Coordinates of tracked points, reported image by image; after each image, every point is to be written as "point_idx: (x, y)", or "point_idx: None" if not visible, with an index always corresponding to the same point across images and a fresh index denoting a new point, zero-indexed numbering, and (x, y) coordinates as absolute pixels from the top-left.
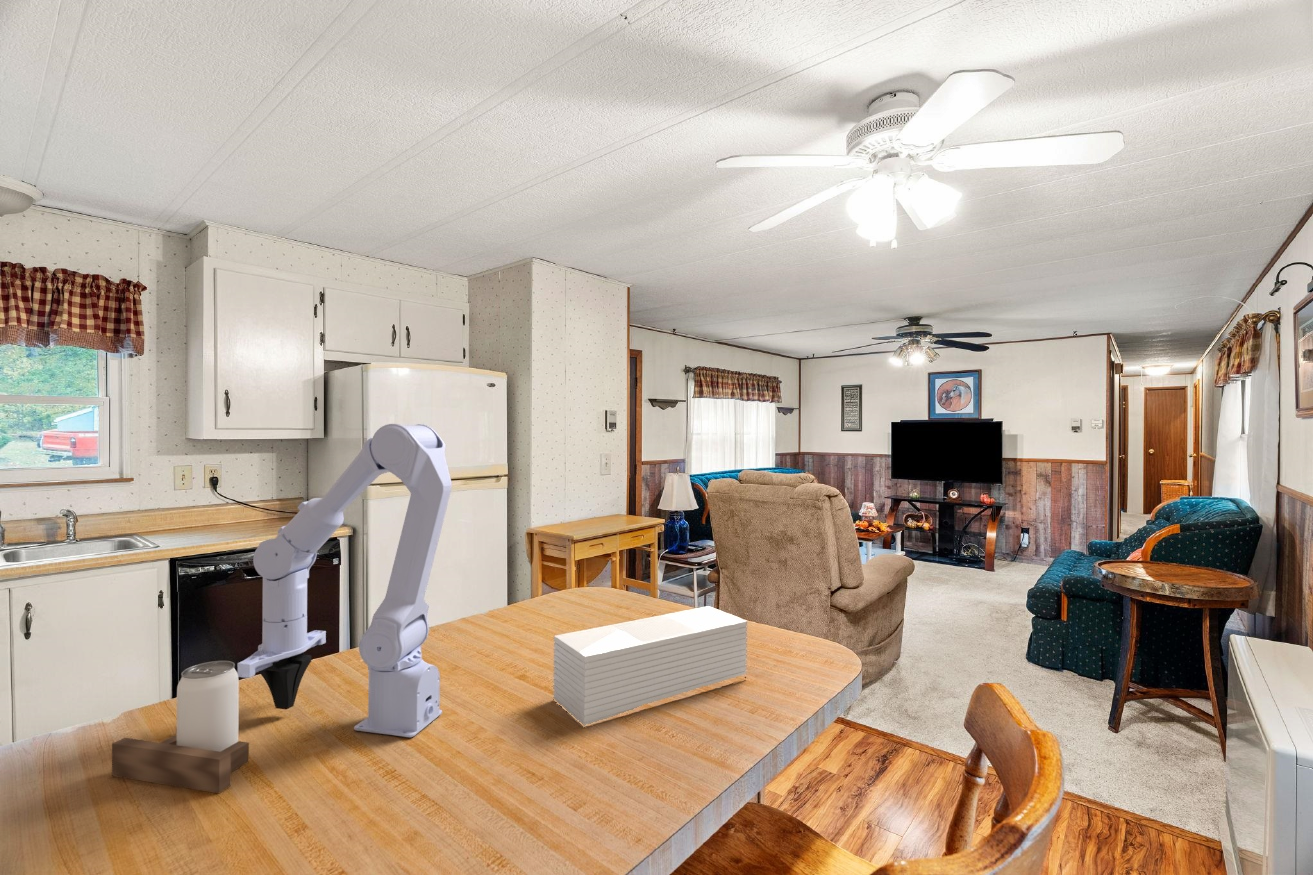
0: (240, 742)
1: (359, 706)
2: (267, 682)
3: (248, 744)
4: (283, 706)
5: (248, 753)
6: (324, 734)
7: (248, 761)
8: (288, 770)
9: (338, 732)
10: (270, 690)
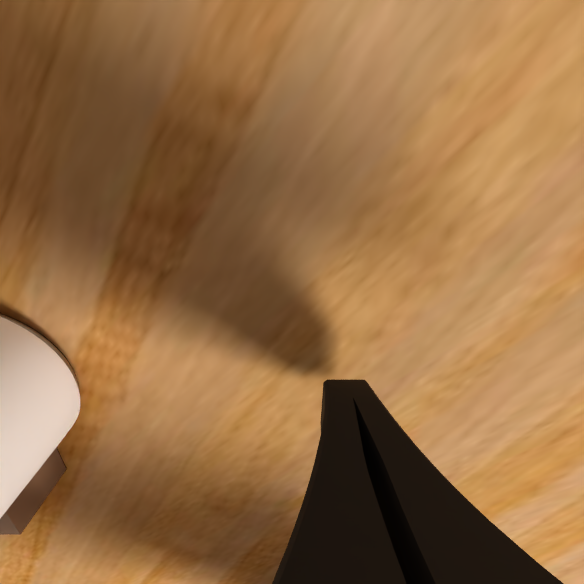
0: (3, 517)
1: None
2: (302, 513)
3: (25, 526)
4: (322, 422)
5: (48, 494)
6: (257, 523)
7: (65, 470)
8: (94, 547)
9: (276, 539)
10: (318, 451)
